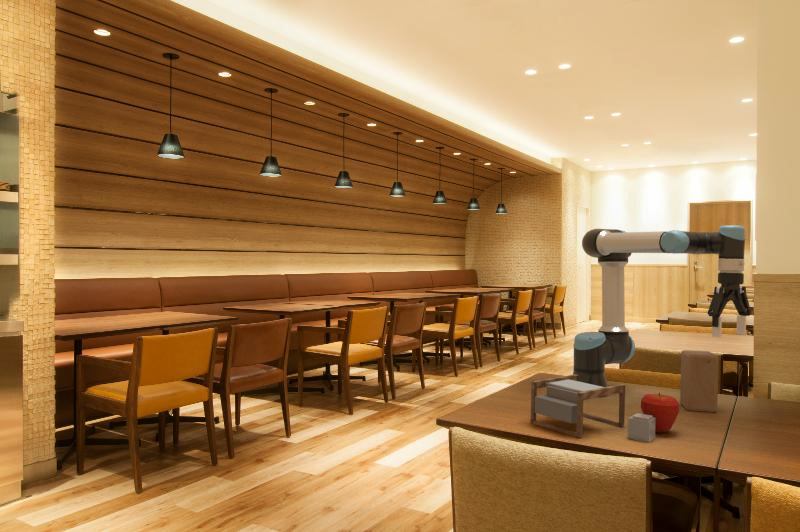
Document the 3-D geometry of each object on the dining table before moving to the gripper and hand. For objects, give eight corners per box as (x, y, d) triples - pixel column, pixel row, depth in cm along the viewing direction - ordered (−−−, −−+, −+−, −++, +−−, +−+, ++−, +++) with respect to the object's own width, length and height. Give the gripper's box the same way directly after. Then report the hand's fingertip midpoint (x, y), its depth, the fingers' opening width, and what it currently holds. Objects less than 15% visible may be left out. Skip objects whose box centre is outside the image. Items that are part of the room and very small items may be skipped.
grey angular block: (573, 423, 171) (574, 394, 170) (532, 411, 183) (533, 384, 183) (608, 415, 180) (609, 387, 180) (567, 404, 193) (568, 378, 193)
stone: (627, 438, 171) (628, 415, 171) (634, 433, 176) (634, 411, 176) (649, 442, 167) (649, 419, 167) (655, 438, 172) (655, 415, 172)
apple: (659, 438, 171) (660, 397, 171) (631, 428, 181) (632, 389, 181) (687, 434, 175) (688, 394, 175) (658, 425, 185) (659, 387, 185)
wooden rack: (579, 438, 170) (580, 393, 170) (530, 422, 185) (531, 381, 185) (624, 426, 183) (625, 384, 183) (574, 413, 198) (575, 374, 198)
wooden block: (718, 413, 201) (719, 355, 201) (687, 411, 203) (688, 354, 203) (708, 406, 211) (710, 350, 211) (679, 404, 213) (680, 349, 213)
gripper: (718, 272, 184) (717, 339, 184) (763, 272, 196) (761, 335, 197) (696, 271, 191) (695, 336, 191) (741, 271, 203) (739, 332, 203)
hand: (728, 336), depth 194 cm, fingers open, 13 cm apart
